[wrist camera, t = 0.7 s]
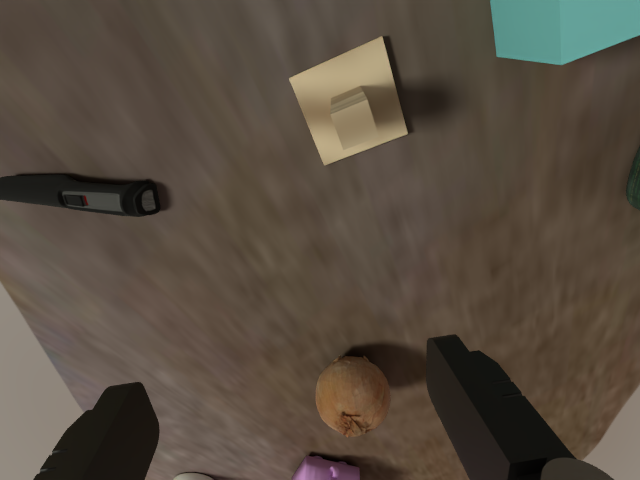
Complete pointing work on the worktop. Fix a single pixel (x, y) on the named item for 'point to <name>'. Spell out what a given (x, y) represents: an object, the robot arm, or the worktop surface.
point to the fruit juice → (192, 477)
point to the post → (350, 102)
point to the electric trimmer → (82, 194)
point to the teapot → (325, 470)
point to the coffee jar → (634, 183)
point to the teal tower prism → (561, 27)
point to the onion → (352, 395)
